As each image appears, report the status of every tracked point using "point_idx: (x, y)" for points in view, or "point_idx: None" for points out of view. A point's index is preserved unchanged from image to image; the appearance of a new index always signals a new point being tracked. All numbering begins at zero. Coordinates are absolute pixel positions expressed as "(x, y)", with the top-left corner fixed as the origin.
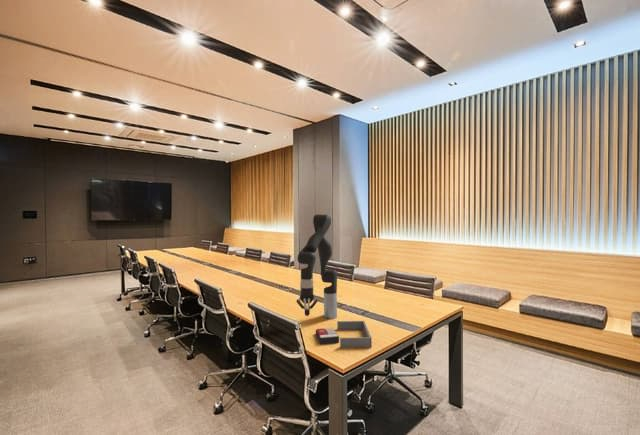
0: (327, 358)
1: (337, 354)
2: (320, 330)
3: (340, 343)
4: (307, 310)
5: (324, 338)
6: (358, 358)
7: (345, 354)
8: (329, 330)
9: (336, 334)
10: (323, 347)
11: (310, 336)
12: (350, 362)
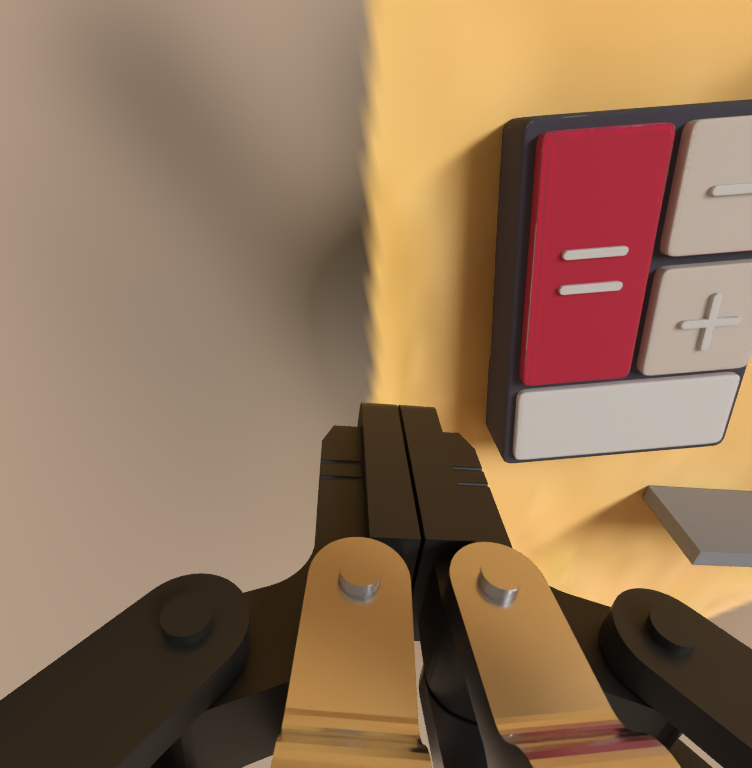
0: None
1: (570, 580)
2: (582, 232)
3: (664, 526)
4: (414, 620)
5: (551, 458)
6: None
7: (626, 583)
8: (712, 250)
9: (727, 399)
10: (499, 483)
11: (413, 210)
12: None
